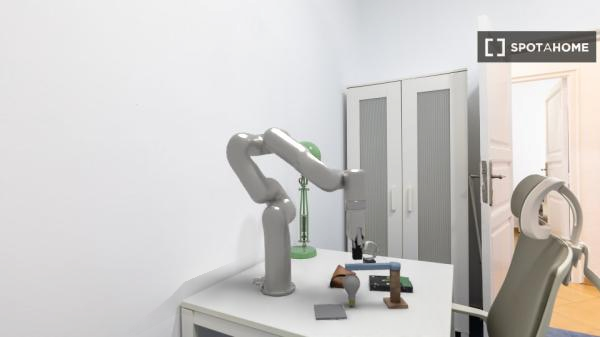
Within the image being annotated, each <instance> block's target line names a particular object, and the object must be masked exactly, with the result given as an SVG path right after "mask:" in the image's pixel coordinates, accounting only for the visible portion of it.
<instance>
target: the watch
mask: <svg viewBox="0 0 600 337" xmlns="http://www.w3.org/2000/svg"><path fill="white" fill-rule="evenodd" d="M369 244H373V245H375V249H374V252H373V254H372V256H371V257H365V256H364V253H365V252H366V251H367V249H368V248H369V247H368V246H369ZM378 253H379V247H378V245H377V244H376V243H375V242H373V241H371V240H366V241H364V242H362V263H377V260H375V259H376V258H377V256H378Z"/></svg>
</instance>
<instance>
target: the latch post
mask: <svg viewBox="0 0 600 337" xmlns="http://www.w3.org/2000/svg"><path fill="white" fill-rule="evenodd" d="M389 276H390V292H389V297H382V298H383V299H382V300H383V303H384V304H385V305H386V306H387V308H388V309H389V310H390V309H391V310H394V309H409V304H408V303H407V302H406V300H404V298H403V297H402V296H401V292H400V276H401V269H400V270H391V269H390V270H389Z"/></svg>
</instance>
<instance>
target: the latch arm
mask: <svg viewBox="0 0 600 337" xmlns="http://www.w3.org/2000/svg"><path fill="white" fill-rule="evenodd" d="M401 266H402V265H401V262H398V261H389V262H376V263H363V262H360V263H358V262H357V263H356V262H355V263H344V268H345V270H346V271H353V272H355V271H385V270H387V271H390V269H391V270H400V271H401Z"/></svg>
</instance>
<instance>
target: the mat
mask: <svg viewBox="0 0 600 337" xmlns="http://www.w3.org/2000/svg"><path fill="white" fill-rule="evenodd" d="M313 307H314V313H315V319H316V321H320V320H321V321H323V320H347V319H348V316H347V314H346V310H345V307H344V305H343V303H323V304H321V303H320V304H318V303H315V304H313Z"/></svg>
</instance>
